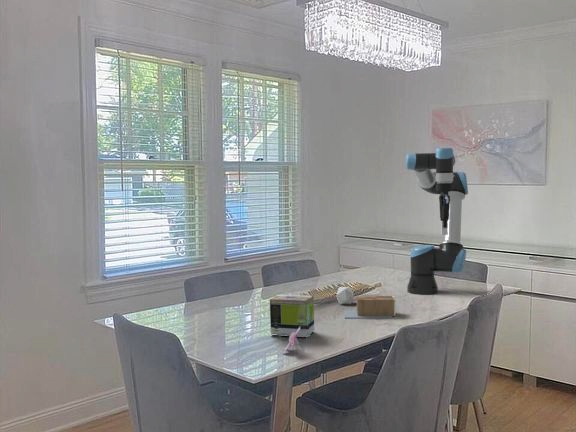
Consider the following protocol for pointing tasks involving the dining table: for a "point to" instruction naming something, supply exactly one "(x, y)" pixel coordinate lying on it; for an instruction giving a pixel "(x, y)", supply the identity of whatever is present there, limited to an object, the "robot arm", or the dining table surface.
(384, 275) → the dining table surface
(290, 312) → the tea box
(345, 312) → the mat
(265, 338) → the dining table surface
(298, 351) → the dining table surface
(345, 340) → the dining table surface
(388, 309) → the brown wooden block
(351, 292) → the white faceted ball
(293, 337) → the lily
